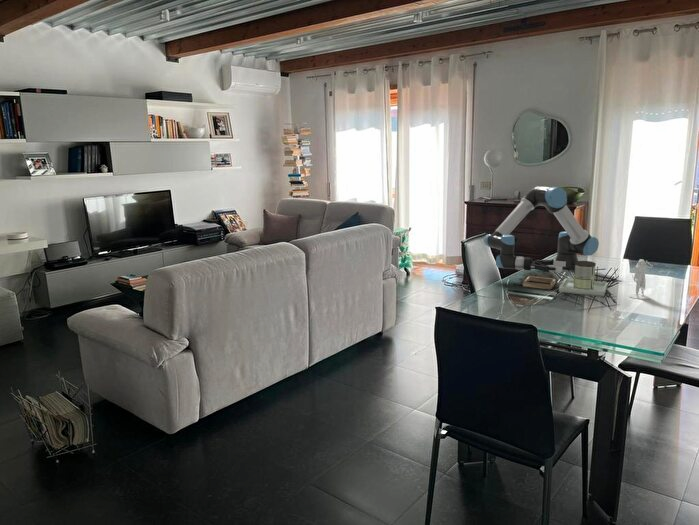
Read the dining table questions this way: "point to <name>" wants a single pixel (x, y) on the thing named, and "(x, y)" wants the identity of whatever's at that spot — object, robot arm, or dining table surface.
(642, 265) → the female figurine
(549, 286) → the wooden frame
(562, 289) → the tray
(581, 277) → the coffee can
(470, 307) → the dining table surface
